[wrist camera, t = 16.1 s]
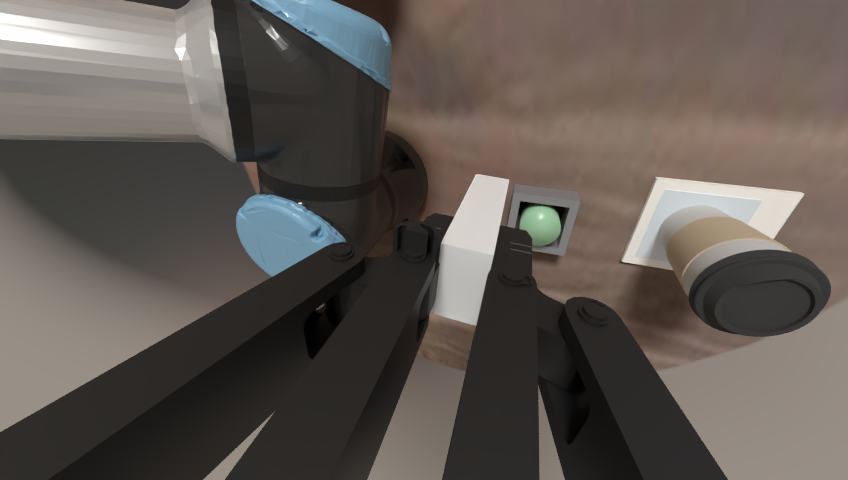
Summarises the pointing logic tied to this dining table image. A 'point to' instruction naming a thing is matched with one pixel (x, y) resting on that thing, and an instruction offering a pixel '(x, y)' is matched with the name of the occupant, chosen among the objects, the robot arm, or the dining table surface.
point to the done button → (540, 223)
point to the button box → (548, 197)
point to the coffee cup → (741, 274)
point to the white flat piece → (739, 202)
